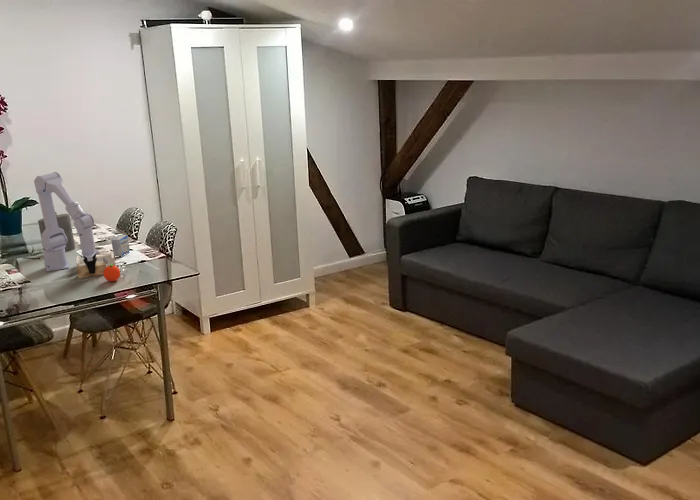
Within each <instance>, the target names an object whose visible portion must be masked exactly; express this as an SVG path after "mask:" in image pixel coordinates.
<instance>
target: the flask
mask: <svg viewBox="0 0 700 500" xmlns="http://www.w3.org/2000/svg"><path fill="white" fill-rule="evenodd" d="M55 214H56V219H57V223H58V227H59V228H61V229H63V230H64V233H65V235H66V237H67V244H66V247H64V248H65V252H69V251H74V250H75V249H76V244H75V238H74V232H73V228H72V227H73V226H72V222H71V216H70V215H69V213H62V214H57V212H56V211H55ZM37 222H38V228H39V234H40V238H41V240H42V236H41V235H42V233H43V232H44V231H45V229H46V227H45V223H44V219H43V218H41V219H38V220H37ZM42 248H43V247H42ZM44 250H45V249H44V248H43V251H44Z"/></svg>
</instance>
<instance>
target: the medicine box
mask: <svg viewBox="0 0 700 500" xmlns="http://www.w3.org/2000/svg"><path fill="white" fill-rule="evenodd" d="M111 247H112V248H111V249H112V251H113V254H114V256H123V255H124V254H126V253H128V252H129V251H130V252H131V248H130V243H129V237H128V235H127V234H119V235H117V236H116V237H114V238H113V239H111ZM130 252H129V253H130ZM129 253H128V254H129ZM126 255H127V254H126ZM123 257H124V256H123Z"/></svg>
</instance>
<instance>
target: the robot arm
mask: <svg viewBox="0 0 700 500" xmlns="http://www.w3.org/2000/svg"><path fill="white" fill-rule="evenodd" d="M33 183H34V187H35V192H36V194H37V196H38V200H39V204H40V209H41V213H42V219H44V223H45V227H46V229H45V231H44V232H43V233H42V235H41V234H40V237H41V236H42V239H41V246H42V248H44V249H45V250H44V249H43V250H42V254H43V263H44V267H45V270H46V272H51V271H58V270H63V269H64V270H65V269H69V264H70V263H69V262H68V259H67V255H66V251H65V248H64V247H66V244H67V237H66V235H65V233H64V230H63V229H61V228H59V227H58V223H57V219H56V214H55V212H56V210H55V206H54V202H53V197H52V194H53V193H55V195H56V196H57V197H58V199H60V201H61V202H62V203H63V204H64V205H65V211H66V212H67V214H69V215H70V218H71V219H72V220H73V227H74V228H75V229H76V233H77V234H78V237H79V242H80V250H81V256H82V258H84V259H83V261H84V263H85V264H86V265H87V267H88V270H89V273H90V274H93V273H95V264H96V261H97V258H96V256H97V253H99V252H100V251H99V249H96V244H95V238H94V237H95V236H94V233H93V226H94V223H95V220H94V218H93V216H92V214H91V213H88V212H85V211H84V209H83V208H82V207H81V205H80V203H79V202H78V201H74V200H73V199H72V197H71V195H70V194H69V192H68V191H67V189H66V187H65V186H64V180H63V178H62V176H61V174H60V173H59V172H57V171H54V172H50V173H46V174H41V175H37V176H36V177H35V179H34V180H33Z"/></svg>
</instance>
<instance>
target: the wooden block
mask: <svg viewBox="0 0 700 500" xmlns="http://www.w3.org/2000/svg"><path fill="white" fill-rule="evenodd" d="M105 268H106V263H105V262H100V263H96V264H95V273H93V274H90V273H89V270H88V267H87V265H81V266H77V265H76V272H77V275H78V276H77V277H78V279H82V278H83V277H85V278H89V277H97V276H104V275H103V272H104V269H105ZM83 279H84V278H83Z"/></svg>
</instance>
